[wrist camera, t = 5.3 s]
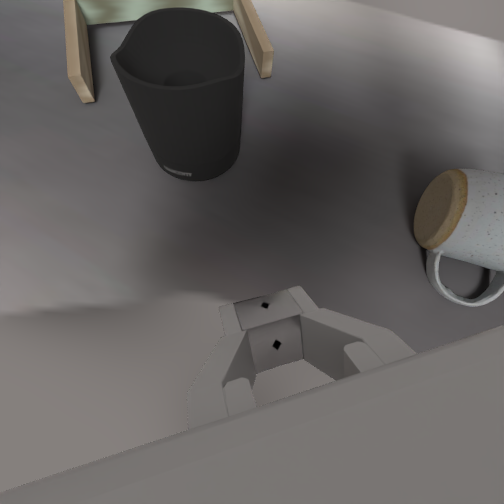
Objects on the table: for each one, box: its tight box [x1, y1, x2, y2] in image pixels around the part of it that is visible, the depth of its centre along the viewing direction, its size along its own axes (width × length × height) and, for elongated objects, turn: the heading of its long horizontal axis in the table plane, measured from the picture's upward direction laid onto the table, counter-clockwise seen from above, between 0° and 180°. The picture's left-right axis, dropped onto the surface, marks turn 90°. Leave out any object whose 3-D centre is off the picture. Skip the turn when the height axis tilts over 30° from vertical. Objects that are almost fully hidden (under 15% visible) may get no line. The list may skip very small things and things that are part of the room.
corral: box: [63, 0, 274, 103], centre depth 32 cm, size 21×15×6 cm
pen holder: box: [110, 7, 245, 181], centre depth 24 cm, size 9×9×10 cm
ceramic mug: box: [414, 169, 504, 307], centre depth 23 cm, size 11×8×8 cm
